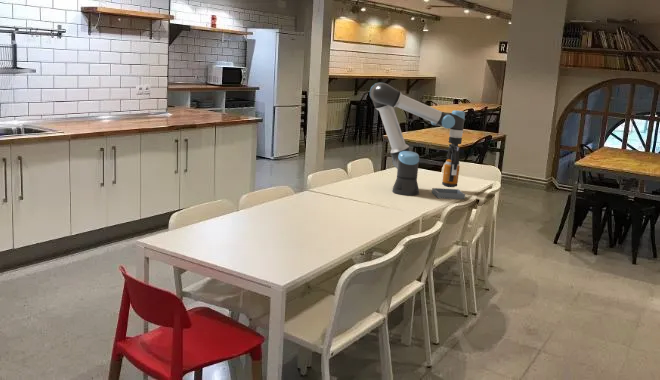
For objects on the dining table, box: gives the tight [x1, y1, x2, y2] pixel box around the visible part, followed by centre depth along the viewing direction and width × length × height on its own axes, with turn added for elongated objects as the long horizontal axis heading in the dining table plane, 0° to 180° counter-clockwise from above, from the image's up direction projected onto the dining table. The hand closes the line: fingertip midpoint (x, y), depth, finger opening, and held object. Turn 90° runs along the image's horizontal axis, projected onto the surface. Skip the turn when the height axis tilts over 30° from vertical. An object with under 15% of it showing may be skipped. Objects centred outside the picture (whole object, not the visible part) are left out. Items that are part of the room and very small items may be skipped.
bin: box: [431, 187, 466, 200], centre depth 355 cm, size 16×14×3 cm
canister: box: [441, 153, 460, 188], centre depth 370 cm, size 9×11×20 cm
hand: (451, 173), depth 371 cm, fingers closed on canister, 10 cm apart
